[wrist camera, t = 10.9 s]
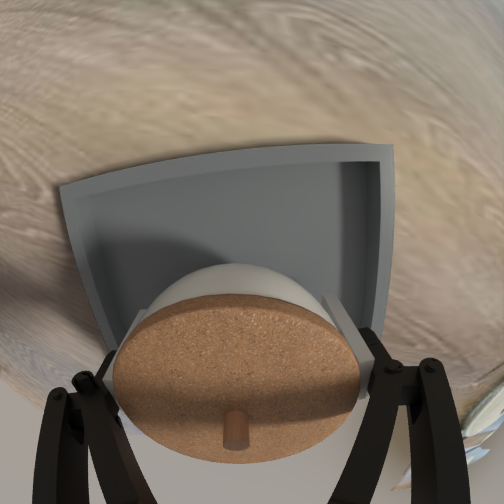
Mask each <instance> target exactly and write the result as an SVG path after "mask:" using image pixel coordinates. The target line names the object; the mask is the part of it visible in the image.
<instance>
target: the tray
mask: <svg viewBox="0 0 504 504" xmlns="http://www.w3.org/2000/svg"><path fill="white" fill-rule="evenodd" d="M59 190H60V196H61V201H62V207H63V212H64V216H65V221H66V226H67V230H68V234H69V238H70V242H71V246H72V250H73V253H74V257H75V260H76V264H77V267H78V271H79V274H80V277H81V280H82V283H83V286H84V289H85V292H86V295H87V298H88V301H89V303H90V306H91V309H92V311H93V314H94V317H95V319H96V322H97V324H98V327H99V329H100V331H101V334H102V336H103V338H104V341H105V343H106V345H107V347H108V350H109V352H111V351H112V350H118V349H119V347H120V345H121V343H122V341H123V339H124V338H125V336H126V334H127V332H128V330H129V329H130V327H131V325H132V323H133V321H134V320H135V318H136V316H137V314H138V313H139V311H140V310H143V309H148V307H149V306H150V305H151V304H152V303H153V301H154V300H155V299H156V298H157V297H158V296H159V295H160V294H161V293H162V292H163V291H165V290H166V289H167V288H168V287H169V286H170V285H172V284H173V283H175V282H176V281H178V280H179V279H181V278H182V277H184V276H186V275H187V274H190V273H192V272H194V271H197V270H199V269H202V268H206V267H210V266H214V265H220V264H231V263H239V264H251V265H256V266H261V267H266V268H268V269H271V270H274V271H277V272H279V273H282V274H283V275H285V276H287V277H289V278H291V279H292V280H294V281H295V282H297V283H298V284H299V285H300V286H302V287H303V288H304V289H305V290H307V291H308V292H309V293H310V294H312V296H313V297H314V298H315V299H316V300H317V301H318V302H319V304H320V305H321V298H322V292H327V291H334V293H335V294H336V296H337V297H338V299H339V301H340V302H341V304H342V305H343V307H344V309H345V310H346V312H347V313H348V315H349V317H350V318H351V320H352V322H353V323H354V325H355V326H356V328H357V329H360V328H365V327H368V328H369V329H371V330H372V331H374V332H375V334H376V335H377V337H378V338H379V340H380V341H381V336H382V331H383V325H384V319H385V313H386V306H387V299H388V292H389V284H390V275H391V265H392V253H393V239H394V216H395V172H394V150H393V145H390V144H305V145H287V146H272V147H260V148H250V149H240V150H231V151H223V152H215V153H208V154H201V155H194V156H188V157H182V158H176V159H170V160H165V161H160V162H155V163H150V164H145V165H140V166H135V167H131V168H126V169H122V170H118V171H114V172H109V173H105V174H102V175H98V176H94V177H90V178H87V179H83V180H79V181H76V182H73V183H69V184H66V185H63V186H59ZM366 396H368V391H367V393H366Z"/></svg>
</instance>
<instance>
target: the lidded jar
mask: <svg viewBox="0 0 504 504" xmlns="http://www.w3.org/2000/svg"><path fill="white" fill-rule="evenodd" d="M112 380H113V386H114V391H115V394H116V397H117V399H118V402H119V405H120V406H121V408H122V409H123V411H124V412H125V414H126V415H127V417H128V418H129V419H130V420H131V421H132V423H133V424H134V425H135V426H136V427H137V428H138V429H140V430H141V431H142V432H143V433H144V434H146V435H147V436H148V437H150V438H151V439H153V440H154V441H156V442H157V443H159V444H161V445H163V446H165V447H167V448H169V449H171V450H173V451H176V452H178V453H181V454H183V455H187V456H190V457H193V458H197V459H201V460H206V461H211V462H219V463H232V464H246V463H258V462H266V461H272V460H276V459H280V458H284V457H287V456H291V455H294V454H297V453H299V452H301V451H304V450H306V449H308V448H310V447H312V446H314V445H316V444H317V443H319V442H321V441H323V440H324V439H325V438H327V437H328V436H329V435H331V434H332V433H333V432H334V431H335V430H336V429H337V428H338V427H340V426H341V425H342V424H343V423H344V421H345V420H346V419H347V417H348V416H349V414H350V413H351V411H352V409H353V408H354V406H355V404H356V402H357V399H358V395H359V391H360V386H361V374H360V370H359V366H358V362H357V360H356V358H355V356H354V354H353V352H352V350H351V348H350V347H349V345H348V343H347V341H346V340H345V338H344V337H343V336H342V335H341V334H340V333H339V331H338V330H337V328H336V326H335V324H334V323H333V321H332V319H331V318H330V316H329V314H328V313H327V312H326V311H325V309H324V308H323V307H322V306H321V305H320V304H319V302H318V301H317V300H316V299H315V298H314V297H313V296H312V294H310V293H309V292H308V291H307V290H305V289H304V288H303V287H302V286H300V285H299V284H298V283H297V282H295V281H294V280H292V279H291V278H289V277H287V276H285V275H283V274H282V273H279V272H277V271H274V270H271V269H268V268H266V267H261V266H256V265H251V264H239V263H231V264H220V265H214V266H210V267H206V268H202V269H199V270H197V271H194V272H192V273H190V274H187V275H186V276H184V277H182V278H181V279H179V280H178V281H176V282H175V283H173V284H172V285H170V286H169V287H168V288H167V289H166V290H165V291H163V292H162V293H161V294H160V295H159V296H158V297H157V298H156V299H155V300H154V301H153V303H152V304H151V305H150V306H149V307H148V309H147V310H146V311H145V313H144V314H143V316H142V317H141V319H140V320H139V322H138V323H137V325H136V326H135V328H134V329H133V330H132V331H131V333H130V334H129V336H128V337H127V339H126V340H125V341H124V343H123V344H122V346H121V348H120V350H119V352H118V354H117V357H116V360H115V362H114V365H113V375H112Z"/></svg>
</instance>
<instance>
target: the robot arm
mask: <svg viewBox="0 0 504 504" xmlns="http://www.w3.org/2000/svg"><path fill="white" fill-rule="evenodd" d="M321 306H322V307H323V308H324V309H325V311H326V312H327V313H328V314H329V316H330V318H331V319H332V321H333V323H334V324H335V326H336V328H337V330H338V331H339V333H340V334H341V335H342V336H343V337H344V338H345V340H346V341H347V343H348V345H349V347H350V348H351V350H352V352H353V354H354V356H355V358H356V360H357V362H358V366H359V370H360V374H361V386H360V391H359V395H358V399H357V400H359V399H363V398H365V397H366V393H367V391H368V393H369V396H370V399H369V402H368V405H367V408H366V412H365V415H364V418H363V421H362V424H361V426H360V429H359V432H358V435H357V438H356V440H355V443H354V446H353V448H352V451H351V453H350V456H349V458H348V460H347V463H346V465H345V468H344V470H343V472H342V474H341V477H340V479H339V481H338V483H337V485H336V488H335V489H334V492H333V494H332V496H331V498H330V499H329V501H328V503H327V504H370V502H371V499H372V496H373V494H374V491H375V488H376V486H377V483H378V480H379V477H380V474H381V471H382V468H383V465H384V462H385V458H386V455H387V452H388V448H389V444H390V440H391V437H392V433H393V429H394V425H395V420H396V416H397V411H398V406H399V405H406V407H407V416H408V425H409V437H410V451H411V504H471V501H470V487H469V478H468V471H467V462H466V455H465V449H464V444H463V439H462V434H461V429H460V424H459V420H458V416H457V411H456V407H455V404H454V400H453V396H452V393H451V389H450V386H449V382H448V379H447V376H446V373H445V370H444V366H443V364H442V363H441V362H440V361H439V360H438V359H435V358H425V359H423V360H422V361H421V362H420V364H419V366H403V364H402V363H401V362H399V361H397V360H394V359H392V358H391V357H390V355H389V354H388V352H387V350H386V349H385V347H384V346H383V344H382V343H381V341H380V340H379V338H378V337H377V335H376V334H375V332H374V331H372V330H371V329H369V328H368V327H365V328H360V329H357V328H356V326H355V325H354V323H353V322H352V320H351V318H350V317H349V315H348V313H347V312H346V310H345V309H344V307H343V305H342V304H341V302H340V301H339V299H338V297H337V296H336V294H335V293H334V291H327V292H322V298H321ZM146 310H147V309H143V310H140V311H139V313H138V314H137V316H136V318H135V320H134V321H133V323H132V325H131V327H130V329H129V330H128V332H127V334H126V336H125V338H124V339H123V341H122V343H121V345H120V347H119V349H118V350H112V351H111V352H110V353H109V354H108V355H107V356H106V357H105V359H104V361H103V363H102V365H101V367H100V368H99V370H98V372H97V374H96V376H95V377H94V375H93V373H92V372H90V371H81V372H79V373H77V374H76V375H75V376H74V377H73V379H72V384H73V386H74V387H75V389H76V391H77V392H76V393H68V392H67V391H66V389H65V388H63V387H58V388H55V389H53V390H52V391H51V392H50V393H49V395H48V398H47V402H46V406H45V410H44V415H43V419H42V424H41V429H40V435H39V441H38V447H37V453H36V462H35V469H34V481H33V495H32V504H90V503H89V490H88V489H89V488H88V445H89V449H90V453H91V457H92V461H93V464H94V468H95V471H96V474H97V478H98V481H99V484H100V487H101V489H102V493H103V495H104V498H105V501H106V503H107V504H157V502H156V500H155V498H154V496H153V494H152V493H151V490H150V488H149V486H148V484H147V482H146V480H145V478H144V476H143V474H142V472H141V470H140V467H139V466H138V463H137V461H136V459H135V456H134V454H133V451H132V449H131V446H130V444H129V441H128V439H127V436H126V433H125V431H124V428H123V425H122V422H121V419H120V417H119V416H118V411H119V409H120V410H121V412H122V413H123V415H126V414H125V412H124V411H123V409H122V408H121V406H120V405H119V402H118V399H117V397H116V394H115V391H114V386H113V380H112V375H113V365H114V362H115V360H116V357H117V354H118V352H119V350H120V348H121V346H122V344H123V343H124V341H125V340H126V339H127V337H128V336H129V334H130V333H131V331H132V330H133V329H134V328H135V326H136V325H137V323H138V322H139V320H140V319H141V317H142V316H143V314H144V313H145V311H146ZM126 416H127V415H126Z"/></svg>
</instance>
